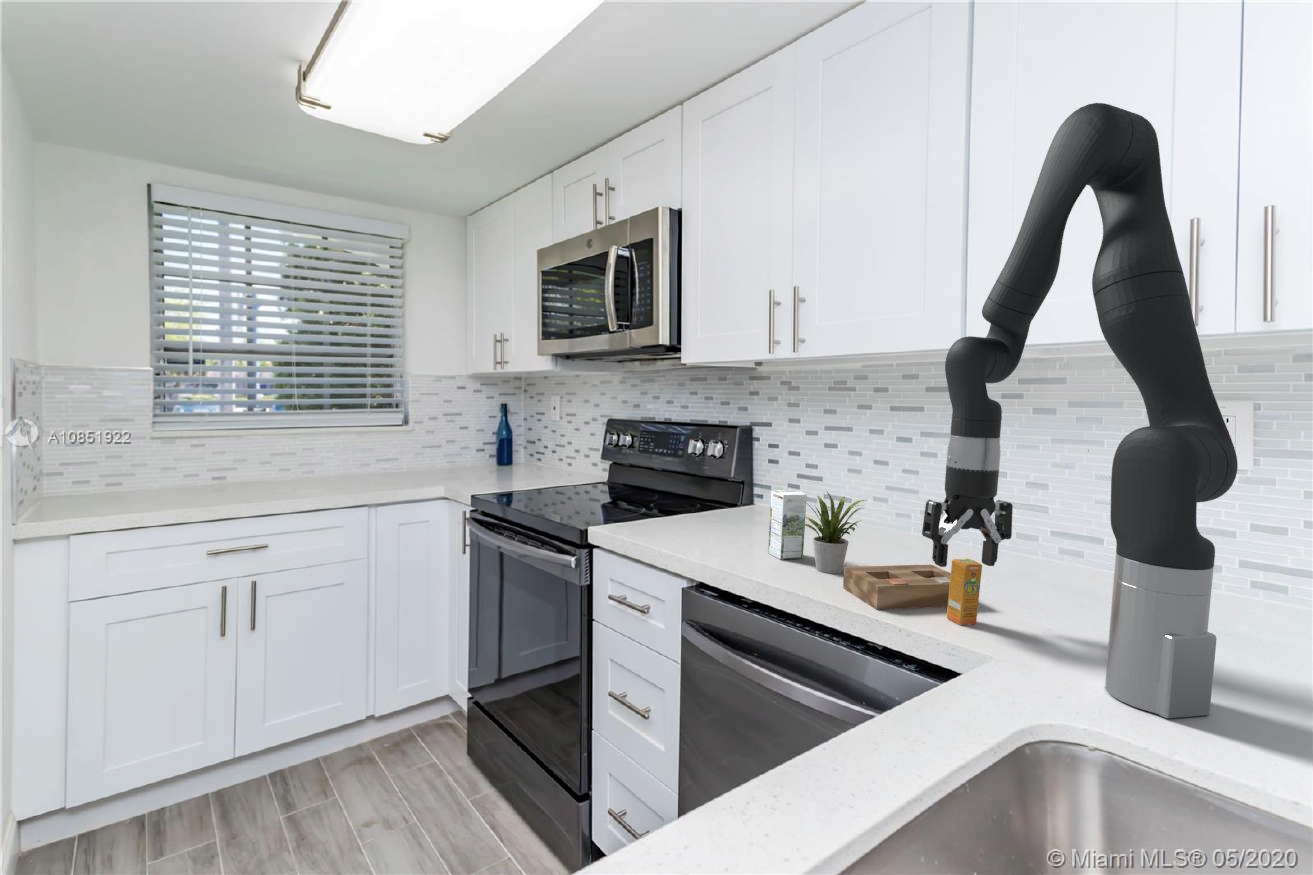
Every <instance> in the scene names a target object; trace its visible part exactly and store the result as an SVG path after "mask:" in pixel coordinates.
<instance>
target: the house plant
mask: <svg viewBox="0 0 1313 875" xmlns="http://www.w3.org/2000/svg"><path fill="white" fill-rule="evenodd" d="M826 493H827V496H828V497H829V502H830V514H829V509H828V506H827V503H826V502H825V501H824V500H823V499H822V497H820V496H818V495H817V499H818V502H819V506H820V510H819V509H818V508H817V507H816V505H814V508H815V509H816V511H817V512H816V511H815V509H813V507H812V506H811V505H809V503H808V502H807V501H806V502H805V501H804V502H805V503H806V505H808V506H809V507H810V509H812V511H813V512H814V514H815V515H816V517H817V518H818V520H819V522H820V523H818V522H817V521H815V520H814V519H813V518H811V517H809V516H805V519H807V520H808V521H809V522H810V523H811V524H812V525H813V526H812V525H811V524H808V523H805V524H803V525H805V527H808V528H810V529H812V530H813V531H814V532H815V533H816V534H817V535H818V536H814V537H813V538H812V543H813V544H812V545H813V552H814V553H813V554H814V559H815V560H814V561H815V569H816V570H817V571H818V572H821V573H825V574H840V573H842V572H843V571H844V565H845V560H846V555H847V552H848V546H849V540H848V539H846V538H843V537H844V535H845V534H847V535H850V537H852V535H851V533H850V532H849V530H852V532H855V530H856V528H855V527H854V526H856V527H858V525H857V524H858V523H859V522H860V523H861V520H857V521H855V522H853V523H852V522H849V520H850V518H852V516H853V515H854V514H855V513H856V512H858V511H860V510H861V509H863V507H865V505H863V504H859V503H861V502H865V501H867V499H860V500H859V499H858V500H857V501H854V502H853V503H851V504H850V505H849V506H848V507H847V508H846V509H845V511H844V512H843V509H844V506H845V499H846V497H845V496H843V497H842V498H841V499H839V502H838V504H837V507H835V502H834V499H833V498H832V496H831V494H830V493H829V492H828V491H826ZM800 500H801V499H800ZM802 501H803V500H802ZM856 507H859V508H856ZM853 508H856V509H855V510H853V511H852V512H851V513H850V511H851V510H852V509H853ZM842 512H843V514H842ZM849 513H850V514H849ZM841 514H842V515H841ZM848 514H849V516H848V517H847V519H846V520H845V521H844V522H843V520H844V519H845V517H846V516H847V515H848ZM842 522H843V523H842ZM847 525H849V526H847ZM814 526H815V527H816V528H815V527H814ZM846 526H847V527H846ZM819 533H820V534H821V536H820V534H819Z"/></svg>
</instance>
